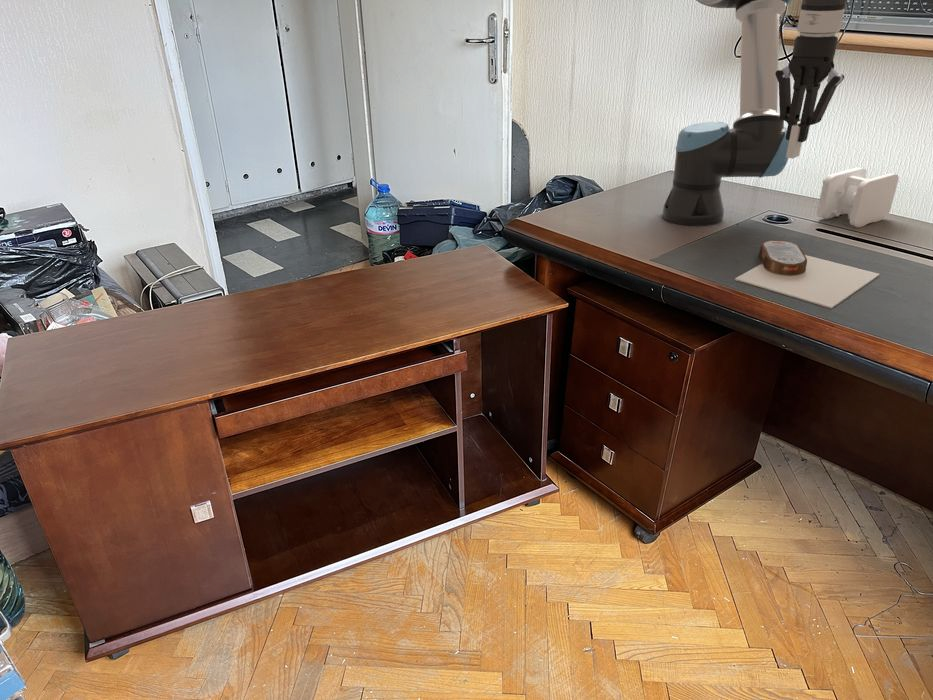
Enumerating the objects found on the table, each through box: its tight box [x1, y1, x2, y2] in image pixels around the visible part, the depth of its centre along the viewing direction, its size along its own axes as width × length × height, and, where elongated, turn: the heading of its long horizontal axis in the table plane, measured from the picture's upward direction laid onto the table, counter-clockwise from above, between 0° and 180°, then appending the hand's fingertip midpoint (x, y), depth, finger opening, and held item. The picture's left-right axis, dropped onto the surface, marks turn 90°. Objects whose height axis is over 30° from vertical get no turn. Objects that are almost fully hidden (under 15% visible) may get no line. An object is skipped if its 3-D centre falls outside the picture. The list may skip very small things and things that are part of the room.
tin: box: [758, 239, 807, 276], centre depth 149 cm, size 15×3×8 cm
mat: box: [734, 254, 880, 309], centre depth 143 cm, size 20×22×1 cm
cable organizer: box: [816, 167, 900, 229], centre depth 170 cm, size 15×11×12 cm
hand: (792, 156), depth 143 cm, fingers closed
